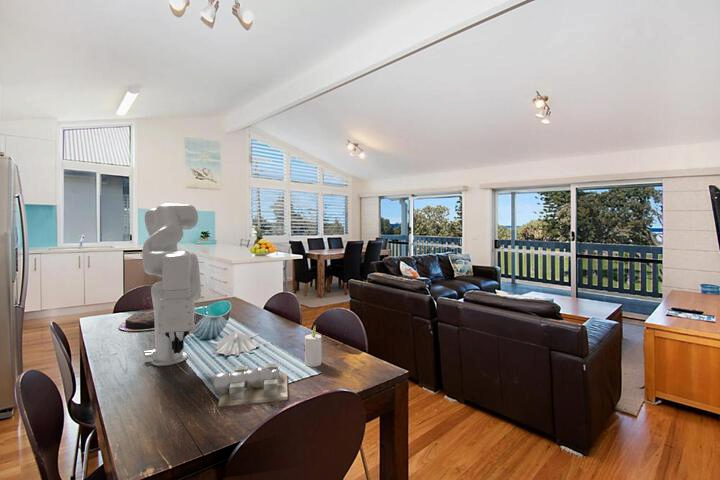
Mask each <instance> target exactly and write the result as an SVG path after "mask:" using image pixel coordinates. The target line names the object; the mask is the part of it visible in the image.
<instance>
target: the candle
mask: <svg viewBox="0 0 720 480" xmlns="http://www.w3.org/2000/svg"><path fill="white" fill-rule="evenodd" d="M316 328H317V326H316V325H315V324H314V326H313V328H312V332H311V333H310V334H306V335H305V336H304V345H303V351H304V365H305V366H306V367H310V368H313V367H319V366H321V365H322V335H321V334H317V333H316V332H317V331H316V330H317V329H316Z"/></svg>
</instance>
